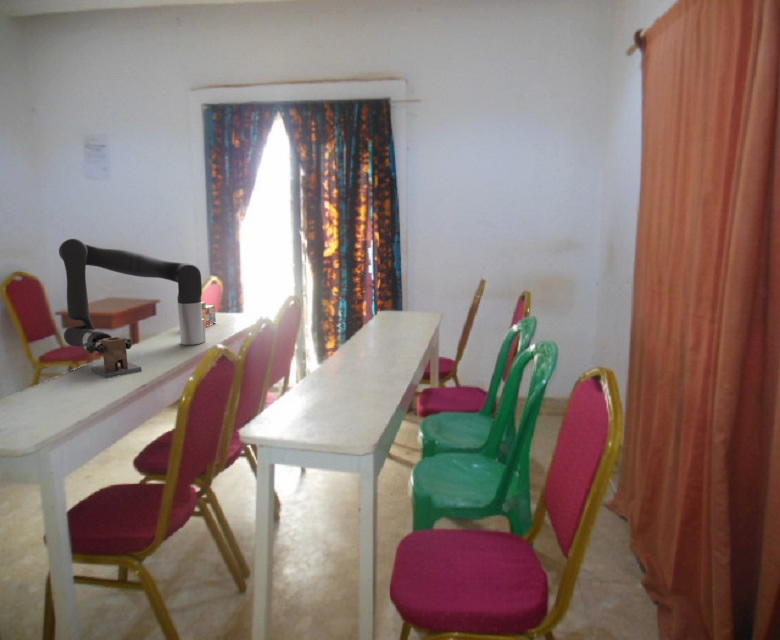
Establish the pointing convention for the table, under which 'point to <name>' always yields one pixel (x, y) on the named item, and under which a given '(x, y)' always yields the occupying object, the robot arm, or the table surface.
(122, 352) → the sleeve
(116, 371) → the base plate
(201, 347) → the table surface
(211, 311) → the stack of blocks
